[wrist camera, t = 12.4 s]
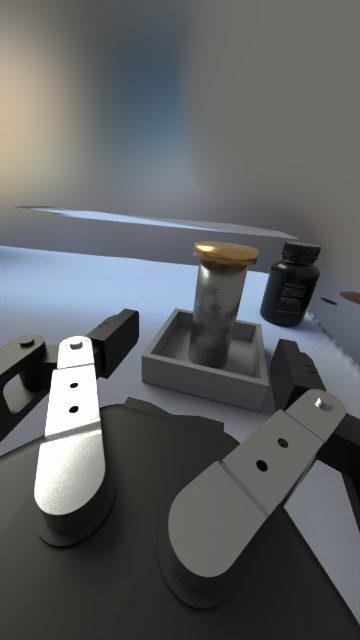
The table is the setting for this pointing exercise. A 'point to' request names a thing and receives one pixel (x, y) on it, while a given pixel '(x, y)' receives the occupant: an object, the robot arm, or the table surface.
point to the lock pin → (217, 299)
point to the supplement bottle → (291, 284)
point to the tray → (216, 384)
